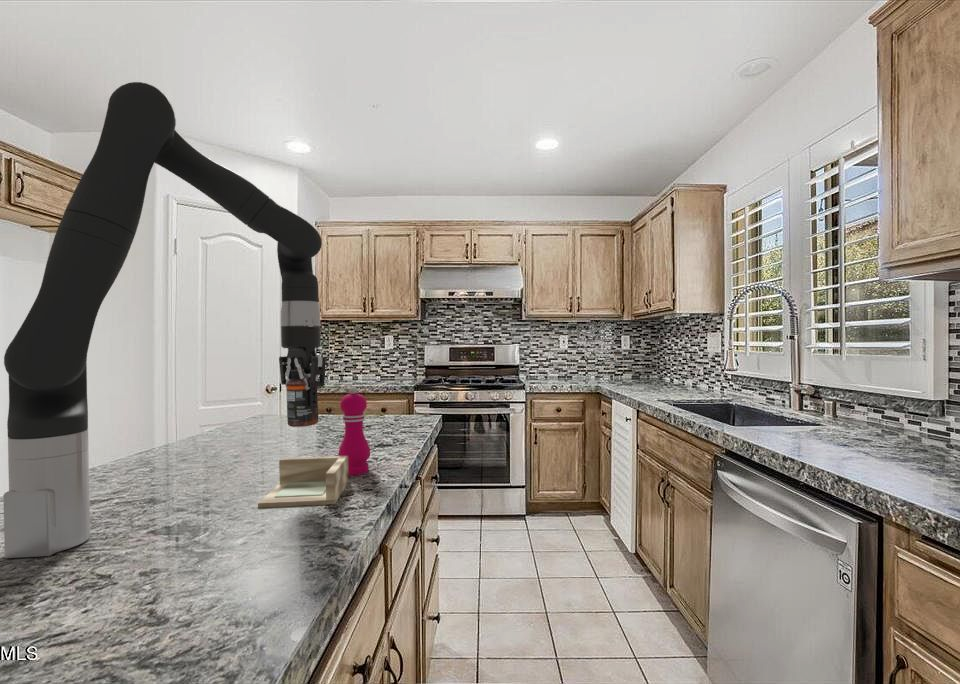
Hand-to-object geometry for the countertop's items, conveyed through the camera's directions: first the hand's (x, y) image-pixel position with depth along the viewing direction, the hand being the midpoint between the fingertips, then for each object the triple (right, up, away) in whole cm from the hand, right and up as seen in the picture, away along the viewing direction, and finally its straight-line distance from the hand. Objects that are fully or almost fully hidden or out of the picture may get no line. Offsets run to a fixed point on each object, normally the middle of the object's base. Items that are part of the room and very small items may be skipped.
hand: (302, 407), depth 98 cm
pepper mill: (+7, -17, +15) cm, 24 cm away
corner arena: (+1, -17, -1) cm, 17 cm away
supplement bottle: (0, -4, 0) cm, 4 cm away
